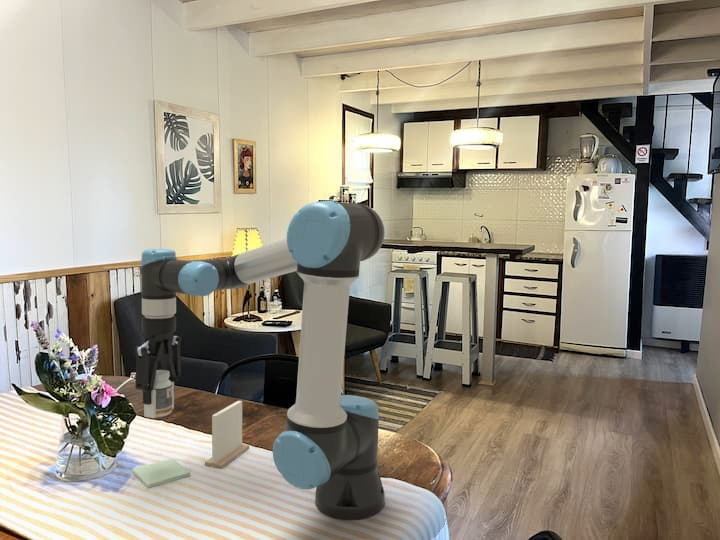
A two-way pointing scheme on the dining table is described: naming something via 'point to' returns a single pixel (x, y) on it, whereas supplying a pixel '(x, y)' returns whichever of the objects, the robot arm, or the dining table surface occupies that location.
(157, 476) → the coaster
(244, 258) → the robot arm
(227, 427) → the screen
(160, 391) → the pill bottle
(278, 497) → the dining table surface
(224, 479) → the dining table surface
